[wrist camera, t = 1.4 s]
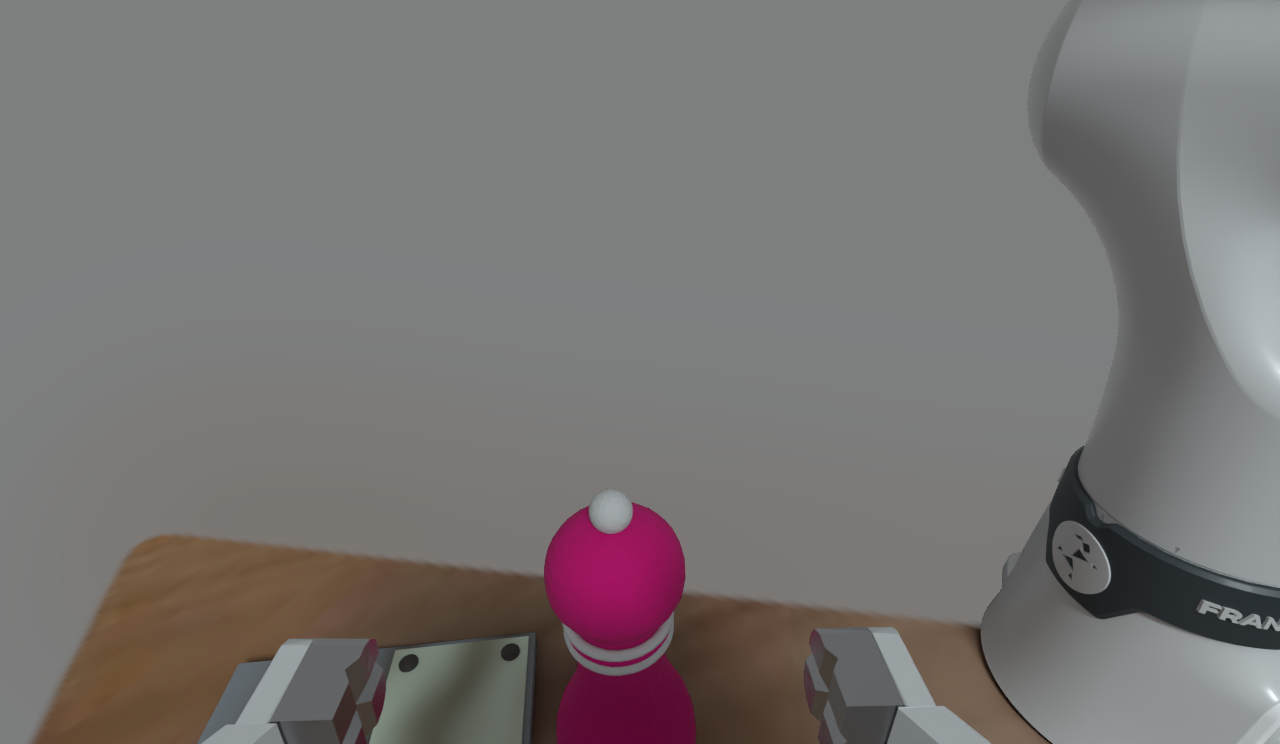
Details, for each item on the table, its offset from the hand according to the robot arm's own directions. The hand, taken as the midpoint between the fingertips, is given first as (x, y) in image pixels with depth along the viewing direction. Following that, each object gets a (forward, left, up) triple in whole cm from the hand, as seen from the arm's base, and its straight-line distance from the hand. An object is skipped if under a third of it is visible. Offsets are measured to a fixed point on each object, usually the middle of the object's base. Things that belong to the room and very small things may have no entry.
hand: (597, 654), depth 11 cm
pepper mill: (-1, -11, -26) cm, 28 cm away
